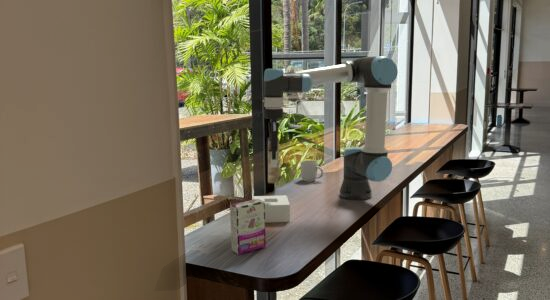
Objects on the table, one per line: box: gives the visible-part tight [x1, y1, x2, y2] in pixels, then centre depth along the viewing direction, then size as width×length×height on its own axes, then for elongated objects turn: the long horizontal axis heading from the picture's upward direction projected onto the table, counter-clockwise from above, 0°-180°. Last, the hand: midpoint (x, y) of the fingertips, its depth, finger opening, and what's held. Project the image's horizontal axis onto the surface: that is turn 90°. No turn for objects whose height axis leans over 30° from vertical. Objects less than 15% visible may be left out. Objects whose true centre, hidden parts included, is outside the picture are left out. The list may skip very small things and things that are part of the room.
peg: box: [267, 137, 280, 184], centre depth 197 cm, size 4×4×18 cm
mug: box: [300, 160, 324, 183], centre depth 262 cm, size 13×9×10 cm
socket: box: [252, 194, 291, 223], centre depth 200 cm, size 14×14×7 cm
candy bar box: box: [229, 199, 267, 255], centre depth 164 cm, size 11×5×16 cm, turn 126°
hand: (273, 165), depth 197 cm, fingers closed on peg, 4 cm apart
